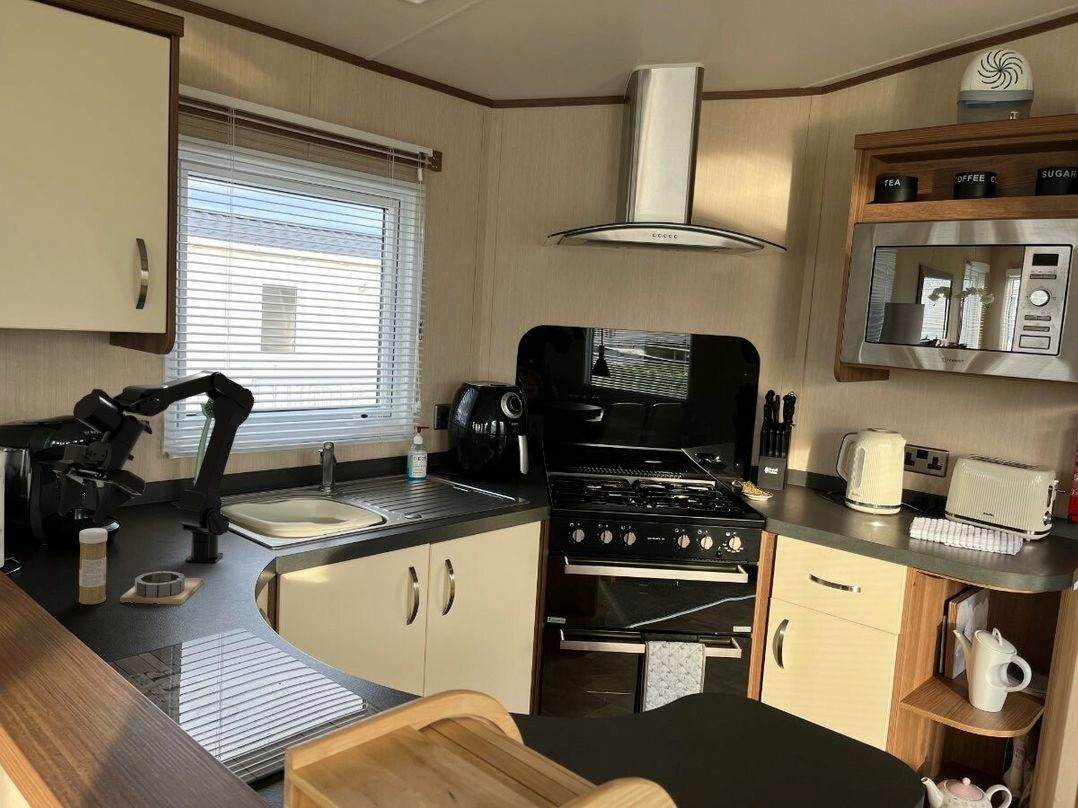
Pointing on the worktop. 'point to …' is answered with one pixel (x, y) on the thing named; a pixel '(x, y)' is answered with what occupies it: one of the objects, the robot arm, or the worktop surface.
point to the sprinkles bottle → (92, 565)
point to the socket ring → (159, 584)
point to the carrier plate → (190, 588)
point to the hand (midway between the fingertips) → (77, 518)
